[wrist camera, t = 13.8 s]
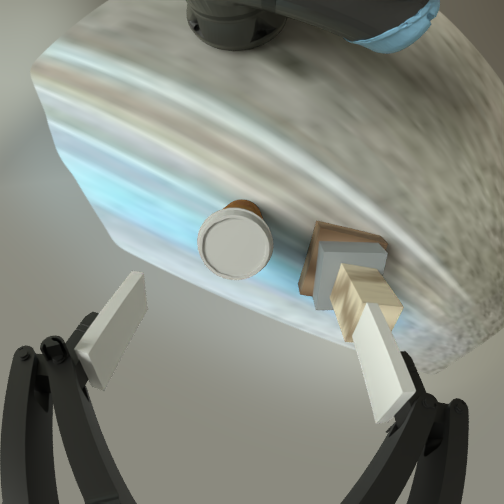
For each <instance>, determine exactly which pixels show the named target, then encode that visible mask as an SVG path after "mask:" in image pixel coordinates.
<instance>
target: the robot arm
mask: <svg viewBox="0 0 504 504" xmlns="http://www.w3.org/2000/svg"><path fill="white" fill-rule="evenodd" d="M186 1H187V3H188V4H187V20H188V23H189V26H190V27H191V29H192V30H193V32H194V33H195V34H196V36H197V37H198V38H199V39H200V40H202V41H203V42H205V43H206V44H208V45H210V46H213V47H215V48H219V49H223V50H246V49H251V48H254V47H257V46H260V45H262V44H264V43H266V42H268V41H270V40H271V39H272V38H274V37H275V36H276V35H277V34H278V33H279V32H280V31H281V29H282V28H283V26H284V24H285V22H286V18H287V17H289V18H293V19H296V20H299V21H302V22H305V23H308V24H311V25H313V26H316V27H319V28H322V29H324V30H327V31H329V32H332V33H334V34H337V35H339V36H341V37H343V38H344V39H345V40H346V41H348V42H350V43H354V44H359V45H361V46H363V47H366V48H368V49H370V50H372V51H374V52H377V53H386V54H390V53H395V52H398V51H401V50H403V49H405V48H406V47H408V46H410V45H411V44H412V43H414V42H415V41H416V40H418V39H419V38H420V37H421V36H422V35H423V34H424V33H425V32H426V31H427V30H428V28H429V27H430V25H431V22H430V21H431V20H432V19H433V18H435V17H436V15H437V13H438V11H439V6H440V0H186ZM147 310H148V307H147V299H146V291H145V281H144V273H141V272H136V271H132V272H131V273H130V274H129V275H128V277H127V278H126V279H125V280H124V282H123V283H122V284H121V286H120V287H119V288H118V289H117V291H116V292H115V293H114V295H113V296H112V297H111V298H110V300H109V301H108V303H107V304H106V305H105V307H104V308H103V309H102V310H101V312H100V313H95V312H92V313H90V314H89V315H87V316H86V317H85V318H84V319H83V320H82V322H81V323H80V325H79V326H78V327H77V328H76V330H75V331H74V332H73V334H72V335H71V337H70V338H69V339H68V341H67V342H66V343H65V342H64V340H63V339H62V338H61V337H59V336H50V337H47V338H46V339H45V340H44V341H43V342H42V343H41V346H40V350H41V352H42V354H36V353H35V352H34V350H33V348H32V347H30V346H22V347H20V348H18V349H17V350H16V352H15V354H14V357H13V361H12V365H11V370H10V375H9V379H8V384H7V390H6V396H5V403H4V410H3V419H2V431H1V450H0V453H1V454H0V465H1V466H0V467H1V469H0V470H1V486H2V487H1V488H2V499H3V502H2V504H59V500H58V494H57V487H56V479H55V470H54V457H53V435H52V416H53V405H54V409H55V414H56V418H57V422H58V426H59V430H60V434H61V437H62V441H63V444H64V447H65V451H66V454H67V457H68V460H69V463H70V465H71V468H72V471H73V474H74V476H75V479H76V481H77V484H78V486H79V489H80V491H81V493H82V496H83V498H84V501H85V504H136V502H135V500H134V499H133V497H132V495H131V493H130V492H129V490H128V488H127V486H126V484H125V482H124V480H123V478H122V476H121V475H120V472H119V470H118V468H117V466H116V464H115V462H114V460H113V458H112V456H111V453H110V451H109V449H108V446H107V444H106V441H105V439H104V437H103V434H102V432H101V429H100V426H99V424H98V421H97V418H96V415H95V412H94V410H93V406H92V403H91V400H90V397H89V394H88V390H87V388H86V386H85V385H86V383H87V381H88V380H89V382H90V383H91V385H92V387H95V388H98V389H101V390H103V391H105V389H106V387H107V385H108V383H109V381H110V379H111V377H112V375H113V373H114V371H115V369H116V367H117V365H118V363H119V362H120V360H121V358H122V356H123V354H124V352H125V350H126V348H127V346H128V345H129V343H130V341H131V339H132V337H133V335H134V333H135V332H136V330H137V328H138V326H139V324H140V323H141V321H142V319H143V317H144V315H145V314H146V312H147ZM352 338H353V341H354V345H355V348H356V351H357V354H358V358H359V362H360V365H361V369H362V372H363V376H364V379H365V383H366V387H367V391H368V394H369V398H370V402H371V406H372V410H373V414H374V419H375V423H376V424H377V423H386V422H389V421H390V420H391V419H392V418H393V417H395V421H396V422H395V423H394V424H393V425H392V426H391V427H390V428H389V429H388V430H387V431H386V432H387V433H388V432H389V433H388V434H387V436H386V438H385V440H384V442H383V443H382V445H381V447H380V448H379V450H378V452H377V453H376V455H375V456H374V458H373V459H372V461H371V462H370V464H369V465H368V467H367V468H366V470H365V471H364V473H363V474H362V476H361V477H360V479H359V480H358V481H357V483H356V484H355V485H354V487H353V488H352V490H351V491H350V492H349V493H348V495H347V496H346V497H345V499H344V500H343V501H342V502H341V504H395V502H396V501H397V499H398V497H399V496H400V494H401V492H402V490H403V489H404V487H405V485H406V483H407V481H408V479H409V477H410V475H411V473H412V471H413V469H414V467H415V465H416V463H417V467H416V472H415V476H414V480H413V484H412V487H411V491H410V495H409V498H408V501H407V504H461V500H462V495H463V489H464V482H465V475H466V465H467V454H468V430H469V425H468V424H469V421H468V420H469V418H468V417H469V415H468V407H467V405H466V403H465V402H464V401H463V400H461V399H457V398H456V399H453V400H452V401H451V402H450V403H449V404H445V403H439V402H438V401H437V399H436V398H435V397H434V396H433V395H431V394H429V393H426V391H425V388H424V386H423V383H422V381H421V379H420V376H419V374H418V372H417V369H416V367H415V365H414V362H413V360H412V358H411V357H410V356H409V355H408V353H407V352H406V351H400V350H399V348H398V346H397V343H396V341H395V339H394V337H393V335H392V332H391V330H390V328H389V326H388V324H387V322H386V320H385V317H384V315H383V313H382V311H381V309H380V307H379V305H378V303H368V302H367V303H366V305H365V308H364V310H363V312H362V315H361V317H360V319H359V322H358V324H357V326H356V328H355V331H354V333H353V335H352ZM417 461H418V462H417Z"/></svg>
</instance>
